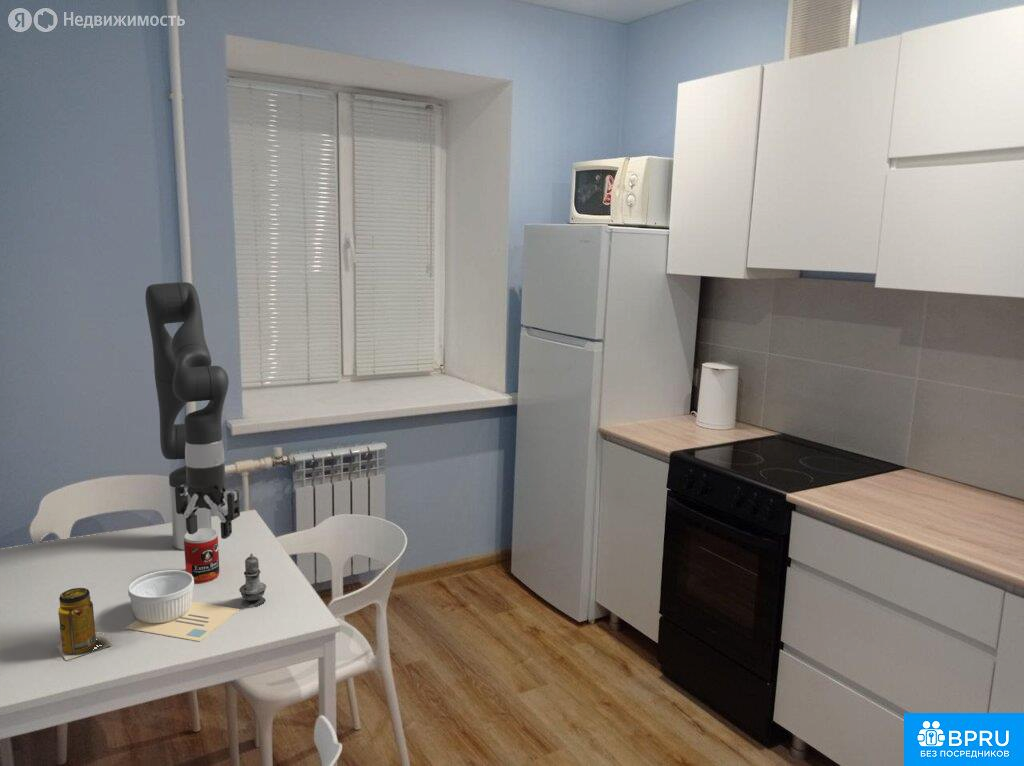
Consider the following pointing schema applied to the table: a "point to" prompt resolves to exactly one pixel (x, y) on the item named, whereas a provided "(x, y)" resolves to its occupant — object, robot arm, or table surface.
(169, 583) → the ramekin
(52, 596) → the table surface
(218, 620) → the letter
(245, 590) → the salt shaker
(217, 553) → the canned food
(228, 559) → the table surface
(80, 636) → the condiment
